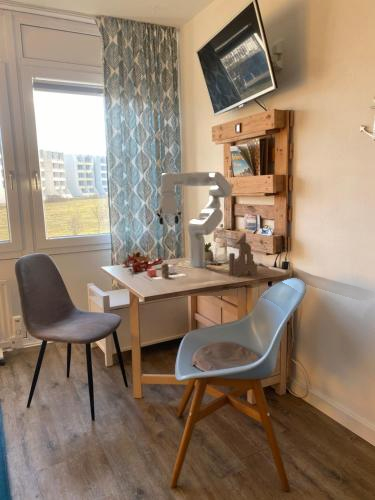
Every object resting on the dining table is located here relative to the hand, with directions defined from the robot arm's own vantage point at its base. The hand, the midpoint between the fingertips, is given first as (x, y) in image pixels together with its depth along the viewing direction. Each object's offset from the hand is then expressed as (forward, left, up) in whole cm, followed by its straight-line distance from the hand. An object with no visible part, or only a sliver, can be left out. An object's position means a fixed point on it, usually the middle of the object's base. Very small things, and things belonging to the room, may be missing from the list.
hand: (169, 223), depth 223 cm
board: (+6, +8, -30) cm, 32 cm away
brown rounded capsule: (+8, +11, -29) cm, 32 cm away
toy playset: (+10, -22, -31) cm, 39 cm away
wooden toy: (-36, +24, -31) cm, 53 cm away
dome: (+2, +4, -28) cm, 29 cm away
